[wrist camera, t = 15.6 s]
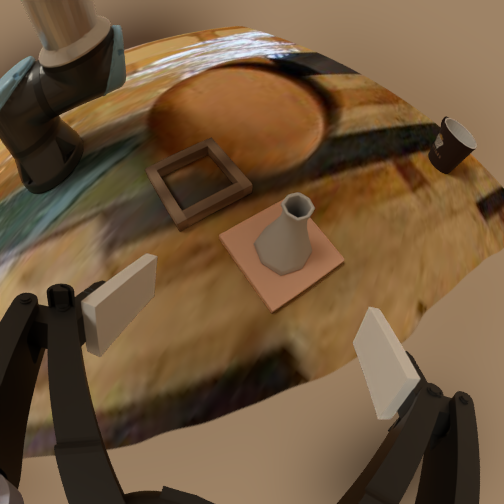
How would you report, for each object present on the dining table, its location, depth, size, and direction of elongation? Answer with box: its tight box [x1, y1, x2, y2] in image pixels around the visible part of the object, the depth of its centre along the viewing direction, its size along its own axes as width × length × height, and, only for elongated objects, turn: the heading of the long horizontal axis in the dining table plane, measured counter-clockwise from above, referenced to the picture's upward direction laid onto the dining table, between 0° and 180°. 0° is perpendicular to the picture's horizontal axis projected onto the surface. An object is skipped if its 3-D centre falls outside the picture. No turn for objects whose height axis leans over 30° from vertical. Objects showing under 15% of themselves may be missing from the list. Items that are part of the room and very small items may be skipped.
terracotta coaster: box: [219, 199, 345, 313], centre depth 36 cm, size 12×12×1 cm
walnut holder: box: [145, 138, 253, 231], centre depth 40 cm, size 12×12×2 cm
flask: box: [254, 192, 315, 276], centre depth 31 cm, size 7×7×10 cm
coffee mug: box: [428, 117, 477, 174], centre depth 44 cm, size 12×9×10 cm
